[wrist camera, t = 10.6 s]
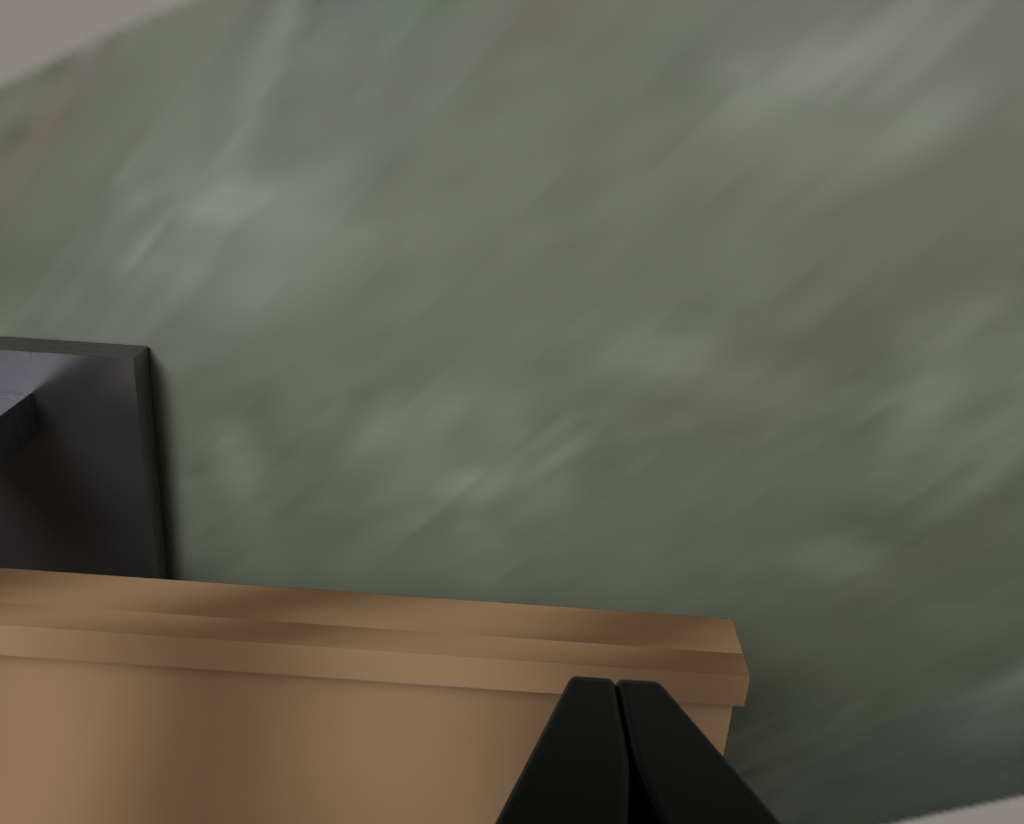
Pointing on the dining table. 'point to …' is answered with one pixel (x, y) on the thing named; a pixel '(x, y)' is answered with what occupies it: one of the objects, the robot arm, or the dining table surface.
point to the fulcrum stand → (78, 460)
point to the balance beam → (306, 698)
